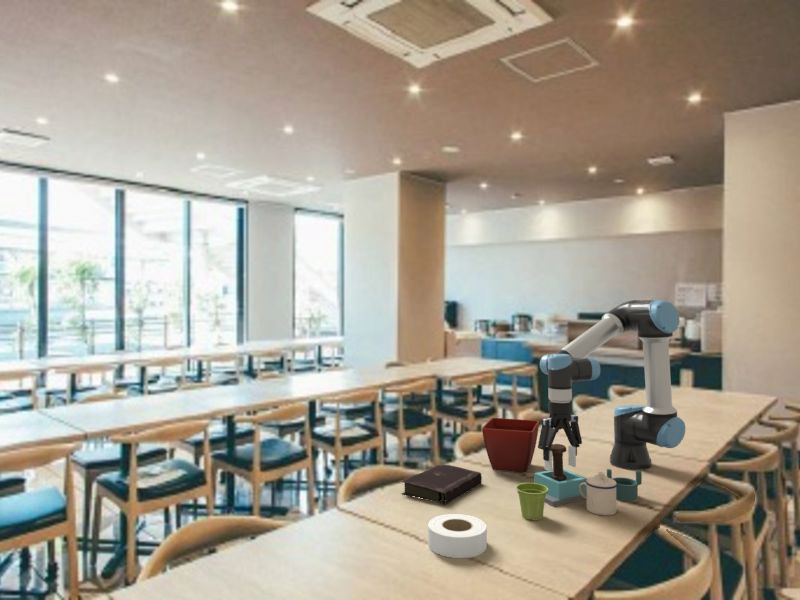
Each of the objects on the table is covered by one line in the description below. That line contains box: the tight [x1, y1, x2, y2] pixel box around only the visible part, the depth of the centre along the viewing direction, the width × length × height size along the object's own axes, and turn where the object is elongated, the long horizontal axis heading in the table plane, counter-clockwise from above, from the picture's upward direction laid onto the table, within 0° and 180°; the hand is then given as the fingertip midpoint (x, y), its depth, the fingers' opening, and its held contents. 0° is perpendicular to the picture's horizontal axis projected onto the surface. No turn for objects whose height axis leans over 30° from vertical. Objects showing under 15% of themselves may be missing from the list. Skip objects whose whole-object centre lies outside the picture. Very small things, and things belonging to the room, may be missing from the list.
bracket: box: [606, 468, 643, 502], centre depth 181 cm, size 9×9×9 cm
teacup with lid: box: [579, 471, 617, 517], centre depth 170 cm, size 12×9×12 cm
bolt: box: [550, 443, 567, 482], centre depth 182 cm, size 6×5×15 cm
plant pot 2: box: [515, 482, 548, 521], centre depth 165 cm, size 9×9×9 cm
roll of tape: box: [427, 513, 488, 559], centre depth 147 cm, size 16×16×6 cm
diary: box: [400, 463, 483, 506], centre depth 190 cm, size 19×25×5 cm
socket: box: [533, 468, 588, 507], centre depth 183 cm, size 18×13×6 cm
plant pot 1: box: [481, 417, 540, 474], centre depth 213 cm, size 19×19×17 cm
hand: (560, 467), depth 183 cm, fingers open, 9 cm apart
